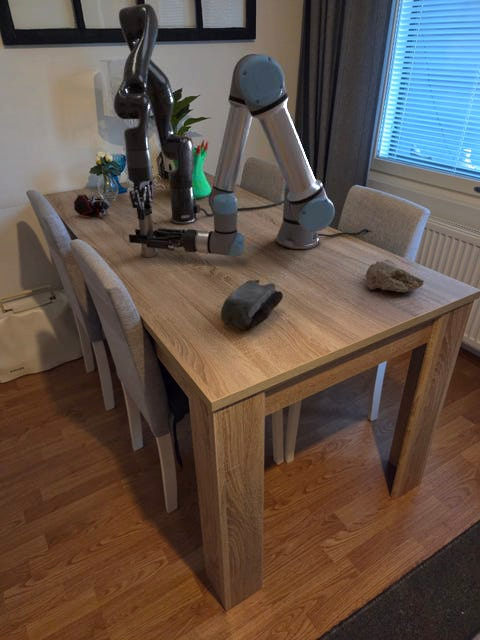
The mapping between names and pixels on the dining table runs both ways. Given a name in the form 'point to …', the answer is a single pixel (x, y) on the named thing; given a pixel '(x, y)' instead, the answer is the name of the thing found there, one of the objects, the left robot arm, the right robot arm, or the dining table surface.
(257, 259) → the dining table surface
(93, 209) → the toy
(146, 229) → the brown long cylinder
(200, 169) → the toy
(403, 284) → the artifact
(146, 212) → the lid
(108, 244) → the dining table surface
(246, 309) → the dark grey soft lump
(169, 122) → the left robot arm
